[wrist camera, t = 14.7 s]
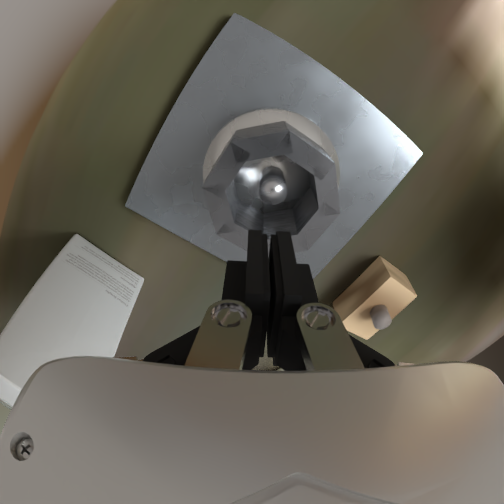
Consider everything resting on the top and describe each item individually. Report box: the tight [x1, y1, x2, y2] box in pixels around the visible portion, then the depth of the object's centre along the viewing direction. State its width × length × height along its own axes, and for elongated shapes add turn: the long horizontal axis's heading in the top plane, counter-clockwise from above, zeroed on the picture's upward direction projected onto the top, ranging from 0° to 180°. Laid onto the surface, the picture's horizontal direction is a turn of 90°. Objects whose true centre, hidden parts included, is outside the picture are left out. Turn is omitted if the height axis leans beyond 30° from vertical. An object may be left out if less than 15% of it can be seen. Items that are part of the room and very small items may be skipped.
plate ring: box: [202, 121, 340, 257], centre depth 18 cm, size 7×7×4 cm
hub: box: [125, 13, 423, 279], centre depth 19 cm, size 16×16×4 cm
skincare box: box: [0, 234, 144, 407], centre depth 20 cm, size 8×7×16 cm
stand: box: [332, 256, 417, 340], centre depth 25 cm, size 6×4×4 cm, turn 147°
